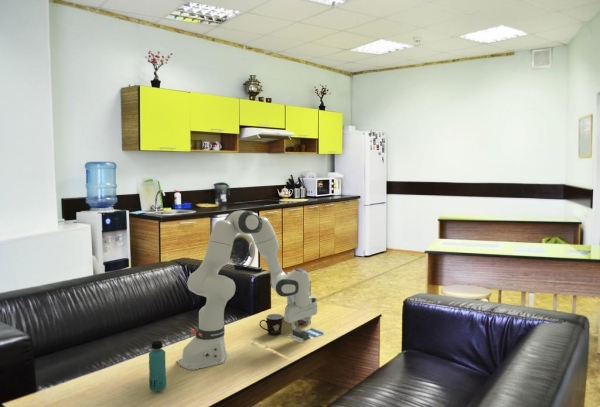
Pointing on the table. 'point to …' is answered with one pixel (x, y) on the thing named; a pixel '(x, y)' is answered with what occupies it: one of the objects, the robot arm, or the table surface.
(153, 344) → the beverage bottle
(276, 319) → the coffee mug
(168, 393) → the table surface
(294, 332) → the grey rectangular prism
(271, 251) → the robot arm
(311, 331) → the white ridged tray
